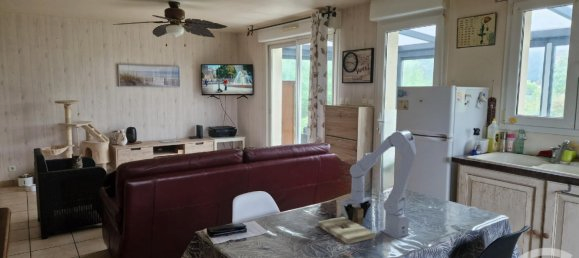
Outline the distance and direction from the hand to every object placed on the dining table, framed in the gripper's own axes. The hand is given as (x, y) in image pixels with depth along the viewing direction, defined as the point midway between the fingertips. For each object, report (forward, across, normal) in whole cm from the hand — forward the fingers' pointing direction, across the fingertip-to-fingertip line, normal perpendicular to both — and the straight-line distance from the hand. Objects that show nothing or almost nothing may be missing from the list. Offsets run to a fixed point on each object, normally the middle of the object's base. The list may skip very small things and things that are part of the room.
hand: (356, 219), depth 170 cm
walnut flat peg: (+2, 0, 0) cm, 2 cm away
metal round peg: (+2, +1, -8) cm, 8 cm away
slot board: (+2, +11, +6) cm, 13 cm away
